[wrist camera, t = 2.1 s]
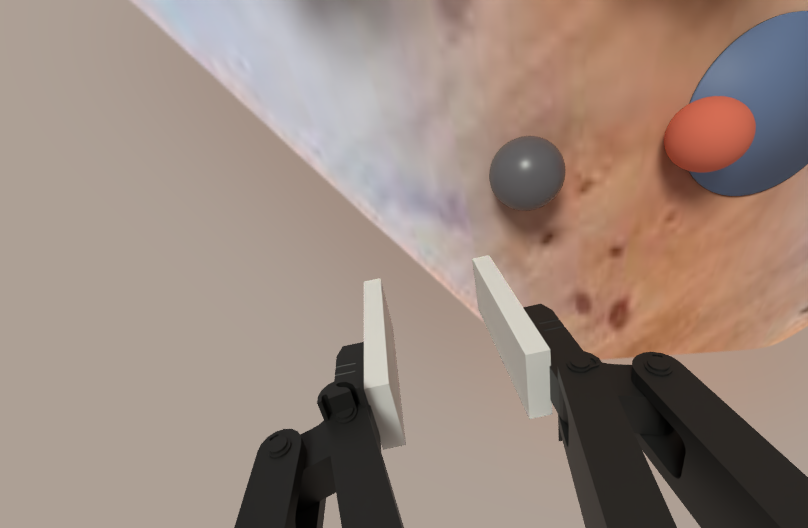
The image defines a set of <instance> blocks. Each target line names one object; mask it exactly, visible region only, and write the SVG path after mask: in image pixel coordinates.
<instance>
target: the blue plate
mask: <svg viewBox="0 0 808 528" xmlns="http://www.w3.org/2000/svg"><path fill="white" fill-rule="evenodd" d="M711 96H726V97H731V98H734V99H736V100H739V101H740V102H742V103H744V104H745V105H746V106H747V107H748V108H749V109H750V111H751V112H752V114H753V116H754V119H755V123H756V131H755V136H754V139H753V142H752V144H751V145H750V147H749V149H748V150H747V151H746V152H745V154H744V155H743V156H742V157H741V158H739V159H738V160H737V161H736V162H734V163H732V164H731V165H729V166H727V167H725V168H722V169H720V170H716V171H712V172H702V173H700V172H691V171H689V172H690V174H691V176H692V177H693V178H694V179H695V180H696V181H697V183H699V184H700V185H701V186H703V187H704V188H706V189H708V190H710V191H712V192H714V193H718V194H721V195H728V196H742V195H749V194H754V193H757V192H761V191H764V190H766V189H769V188H771V187H773V186H775V185H777V184H779V183H781V182H783V181H785V180H786V179H788V178H789V177H791V176H793V175H794V174H795V173H797V172H798V171H799V170H801V169H802V168H803V167H804V166H805V165H807V164H808V11H799V12H792V13H786V14H783V15H779V16H776V17H773V18H771V19H769V20H766V21H764V22H762V23H760V24H758V25H757V26H755V27H753V28H751V29H750V30H748V31H747V32H746V33H744V34H743V35H741V36H740V37H738V38H737V39H736V40H735V41H734V42H733V43H732V44H730V45H729V46H728V47H727V48H726V49H725V50H724V51H723V52H722V53H721V54H720V55H719V56H718V57H717V59H716V60H715V61H714V62H713V64H712V65H711V66H710V67H709V69H708V70H707V71H706V73H705V74H704V76H703V77H702V79H701V81H700V82H699V84H698V86H697V88H696V90H695V91H694V93H693V96H692V98H691V100H690V103H692V102H694V101H696V100H699V99H702V98H705V97H711ZM690 103H689V104H690Z"/></svg>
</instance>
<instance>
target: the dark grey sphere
mask: <svg viewBox="0 0 808 528" xmlns="http://www.w3.org/2000/svg"><path fill="white" fill-rule="evenodd" d="M489 179H490V184H491V188H492V190H493V192H494V194H495V195H496V197H497V198H498V199H499V200H500V201H501V202H502V203H503V204H505V205H506V206H508V207H510V208H513V209H516V210H534V209H537V208H540V207H542V206H544V205H546V204H547V203H549V202H550V201H551V200H553V199H554V198H555V196H556V195H557V194H558V193H559V191H560V189H561V187H562V185H563V182H564V179H565V163H564V160H563V157H562V155H561V153H560V151H559V150H558V149H557V148H556V146H554V145H553V144H552V143H551V142H549V141H548V140H546V139H543V138H540V137H536V136H524V137H519V138H516V139H514V140H511V141H510V142H508V143H507V144H505V145H504V146H503V147H502V148H501V149H500V150H499V151H498V152H497V154H496V155H495V157H494V159H493V161H492V163H491V167H490V173H489Z"/></svg>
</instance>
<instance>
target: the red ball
mask: <svg viewBox="0 0 808 528" xmlns="http://www.w3.org/2000/svg"><path fill="white" fill-rule="evenodd" d="M755 131H756V123H755V119H754V116H753V114H752V112H751V111H750V109H749V108H748V107H747V106H746V105H745V104H744V103H742V102H740V101H739V100H736V99H734V98H731V97H726V96H711V97H705V98H702V99H699V100H696V101H694V102H692V103H690V104H688V105H687V106H685V107H684V108H682V109H681V110H680V111H679V112H678V113H677V114H676V115H675V116H674V117H673V118H672V120H671V121H670V123H669V125H668V127H667V129H666V132H665V137H664V146H665V150H666V153H667V155H668V157H669V158H670V159H671V161H672V162H673V163H675V164H676V165H677V166H679V167H680V168H682V169H685V170H688V171H691V172H700V173H702V172H712V171H716V170H720V169H722V168H725V167H727V166H729V165H731V164H732V163H734V162H736V161H737V160H738V159H739V158H741V157H742V156H743V155H744V154H745V152H746V151H747V150H748V149H749V147H750V145H751V144H752V142H753V139H754V136H755Z"/></svg>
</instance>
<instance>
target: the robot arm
mask: <svg viewBox="0 0 808 528" xmlns="http://www.w3.org/2000/svg"><path fill="white" fill-rule="evenodd" d="M472 262H473V270H474V278H475V285H476V293H477V301H478V309H479V311H480V314H481V316H482V318H483V320H484V322H485V324H486V327H487V329H488V331H489V333H490V335H491V337H492V339H493V342H494V344H495V346H496V348H497V350H498V352H499V354H500V357H501V359H502V361H503V363H504V365H505V367H506V369H507V372H508V374H509V376H510V378H511V380H512V382H513V385H514V387H515V389H516V391H517V393H518V395H519V397H520V399H521V402H522V404H523V406H524V408H525V410H526V413H527V414H528V417H529V419H532V418H536V417H541V416H546V415H551V414H552V403H553V405H554V407H555V409H556V411H557V412H558V423H559V441H562V440H563V444H564V447H565V451H566V455H567V459H568V463H569V466H570V470H571V474H572V478H573V482H574V485H575V489H576V493H577V497H578V501H579V504H580V508H581V512H582V516H583V520H584V524H585V527H586V528H677V527H676V524H675V522H674V520H673V518H672V516H671V513H670V511H669V509H668V507H667V505H666V502H665V500H664V498H663V496H662V493H661V491H660V489H659V487H658V485H657V482H656V480H655V478H654V476H653V474H652V471H651V469H650V467H649V465H648V463H647V461H646V458H645V456H644V454H643V452H644V453H645V454H646V456H647V457H648V458H649V460H650V461H651V462H652V463H653V465H654V466H655V467H656V469H657V470H658V471H659V473H660V474H661V475H662V477H663V478H664V479H665V481H666V482H667V483H668V485H669V486H670V487H671V489H672V490H673V491H674V492H675V494H676V495H677V496H678V498H679V499H680V500H681V502H682V503H683V504H684V506H685V507H686V508H687V510H688V511H689V512H690V514H692V516H693V517H694V519H695V520H696V521H697V523H698V524H699V525H700V527H701V528H808V477H807V476H806V475H805V474H803V473H802V472H801V471H800V470H799V469H798V468H797V467H796V466H795V465H793V464H792V463H791V462H790V461H789V460H788V459H787V458H786V457H785V456H783V455H782V454H781V453H780V452H779V451H778V450H777V449H776V448H774V447H773V446H772V445H771V444H770V443H769V442H768V441H767V440H766V439H765V438H763V437H762V436H761V435H760V434H759V433H758V432H757V431H756V430H755V429H754V428H752V427H751V426H750V425H749V424H748V423H747V422H746V421H745V420H744V419H742V418H741V417H740V416H739V415H738V414H737V413H736V412H735V411H734V410H732V409H731V408H730V407H729V406H728V405H727V404H726V403H724V401H722V400H721V399H720V398H719V397H718V396H717V395H716V394H715V393H714V392H712V391H711V390H710V389H709V388H708V387H707V386H706V385H704V383H702V382H701V381H700V380H699V379H698V378H697V377H696V376H695V375H694V374H692V373H691V372H690V371H689V370H688V369H687V368H686V367H685V366H684V365H682V364H681V363H680V362H679V361H677V360H676V359H674V358H673V357H671V356H668V355H665V354H663V353H656V352H646V353H642V354H639V355H637V356H636V357H635V358H634V359H633V361H632V365H618V364H606V363H602V362H601V361H600V359H599V358H598V357H596V356H594V355H593V354H591V353H588V352H584V351H583V350H582V349H581V347H580V346H579V345H578V343H577V342H576V341H575V340H574V338H573V337H572V336H571V334H570V333H569V332H568V330H567V329H566V328H565V327H564V325H563V324H562V322H561V321H560V320H559V318H558V317H557V316H556V315H555V313H554V312H553V311H552V310H551V309H549V308H548V307H546V306H544V305H542V304H538V305H533V306H528V307H522V305H521V304H520V302H519V301H518V299H517V298H516V296H515V295H514V293H513V291H512V290H511V288H510V287H509V285H508V284H507V282H506V281H505V279H504V278H503V276H502V275H501V273H500V271H499V270H498V268H497V267H496V265H495V264H494V262H493V261H492V259H491V258H490V256H489V255H487V256H483V257H478V258H473V259H472ZM317 404H318V406H319V408H320V411H321V413H322V416H323V418H324V421H323V422H322V423H321V424H319V425H318V426H316V427H314V428H313V429H311V430H309V431H307V432H305V433H303V434H301V435H300V434H299V433H298V432H297V431H295V430H293V429H283V430H280V431H277V432H275V433H273V434H272V435H270V436H269V437H268V438H267V439H266V440H265V441H264V442H263V443H262V444H261V446H260V448H259V450H258V452H257V456H256V459H255V462H254V465H253V468H252V472H251V475H250V478H249V482H248V485H247V488H246V491H245V495H244V498H243V501H242V504H241V508H240V511H239V514H238V518H237V521H236V525H235V527H234V528H323V520H324V510H325V503H326V497H328V496H330V495H332V494H334V493H335V492H336V493H337V500H338V505H339V512H340V518H341V524H342V528H404V527H403V523H402V520H401V517H400V513H399V510H398V507H397V503H396V500H395V497H394V493H393V490H392V487H391V483H390V480H389V477H388V473H387V470H386V467H385V463H384V460H383V457H382V454H381V444H382V447H383V449H387V448H393V447H397V446H402V445H405V444H406V442H405V433H404V424H403V415H402V406H401V398H400V388H399V378H398V369H397V360H396V351H395V343H394V333H393V326H392V322H391V318H390V314H389V310H388V306H387V302H386V298H385V294H384V290H383V286H382V282H381V279H380V278H379V279H374V280H369V281H365V282H364V342H362V343H357V344H352V345H347V346H343V347H342V349H341V351H340V352H339V354H338V355H337V360H336V370H335V381H334V382H333V383H330V384H328V385H327V386H326V387H325V388H324V389H323V390H322V391H321V392H320V394H319V396H318V401H317ZM642 450H643V451H642Z"/></svg>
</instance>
